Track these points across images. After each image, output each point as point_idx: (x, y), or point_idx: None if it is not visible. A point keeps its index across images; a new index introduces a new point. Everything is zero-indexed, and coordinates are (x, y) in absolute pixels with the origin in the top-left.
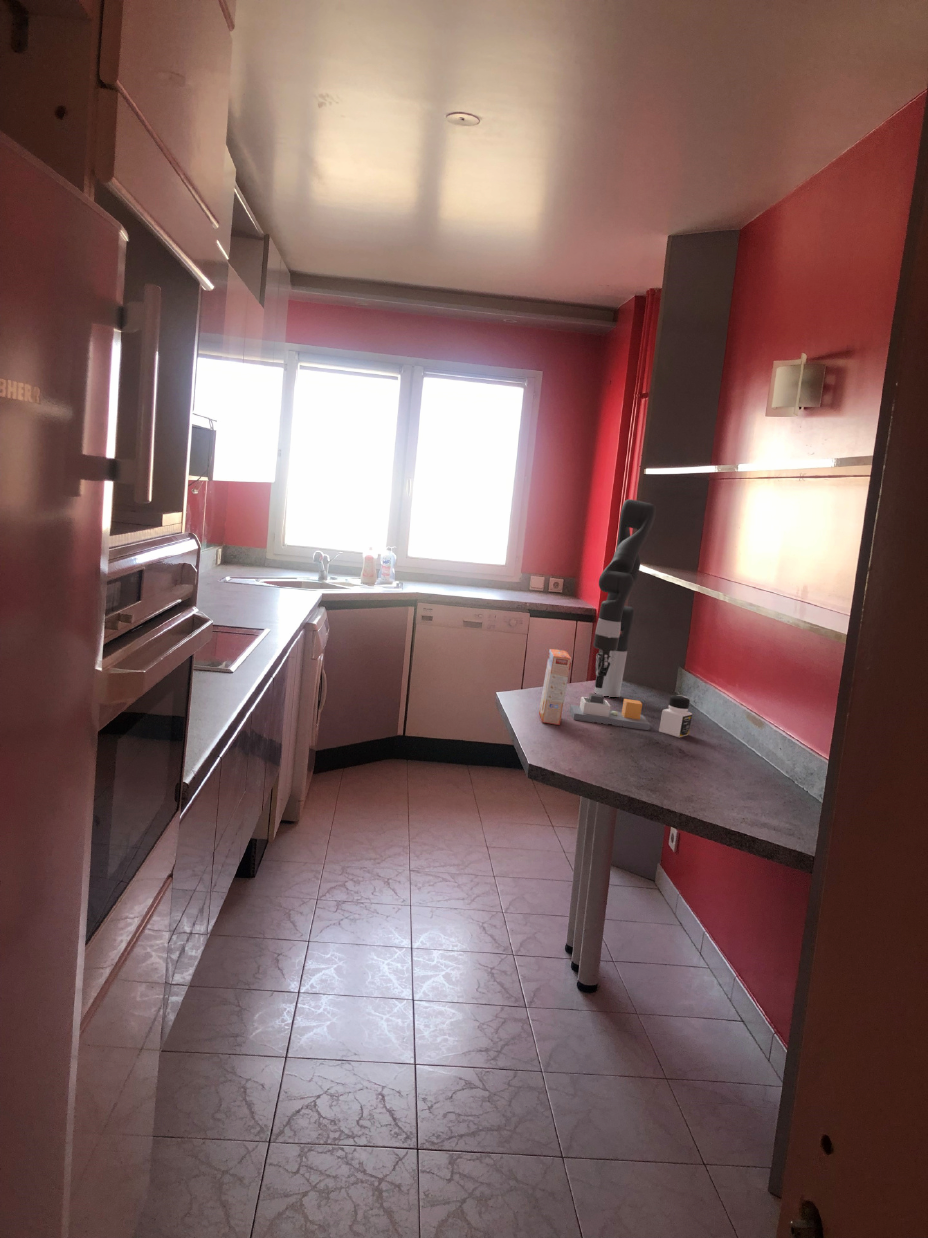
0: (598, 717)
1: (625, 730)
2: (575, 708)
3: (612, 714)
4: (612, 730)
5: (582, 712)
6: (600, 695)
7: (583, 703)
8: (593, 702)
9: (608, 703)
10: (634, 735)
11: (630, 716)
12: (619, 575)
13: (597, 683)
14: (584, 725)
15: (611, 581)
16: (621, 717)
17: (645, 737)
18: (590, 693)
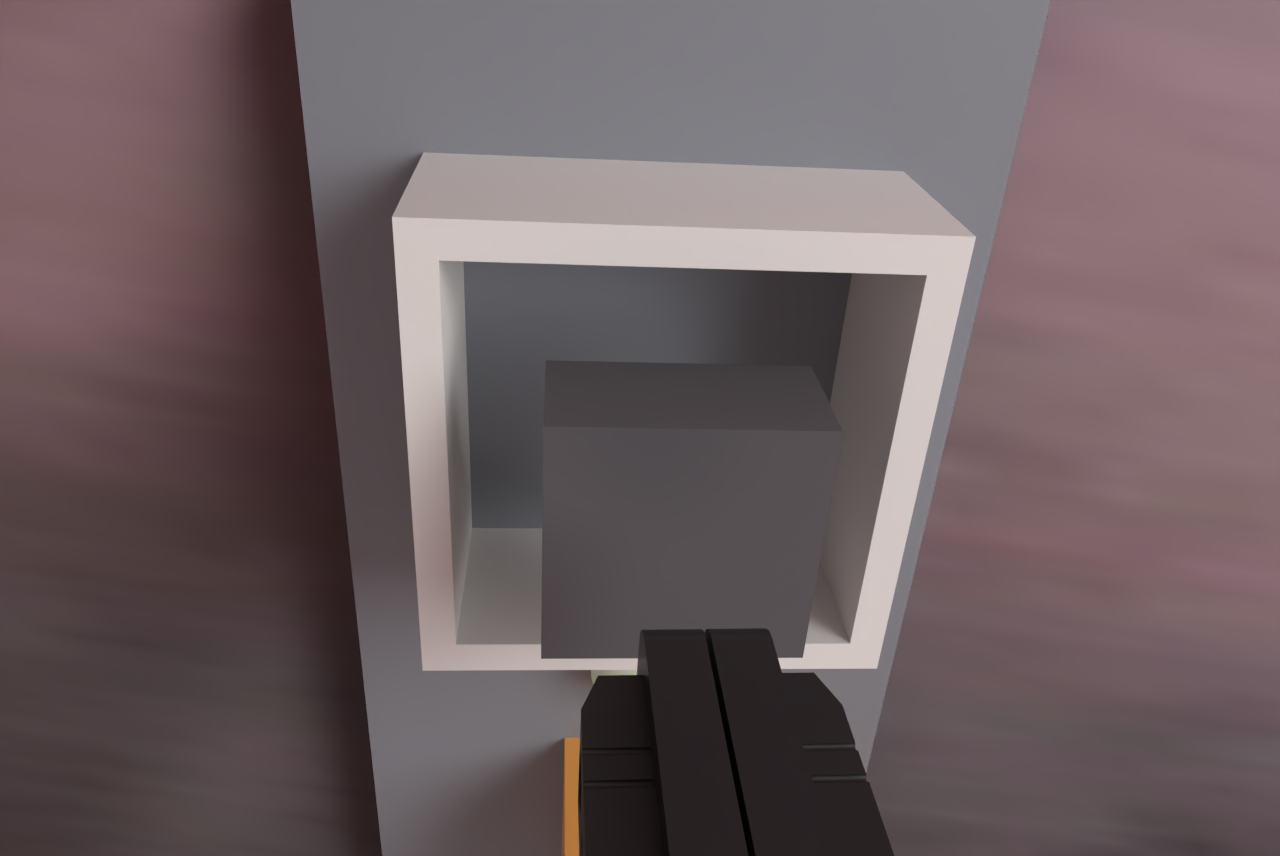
0: (334, 394)
1: (196, 652)
2: (755, 60)
3: None
4: (44, 496)
5: (480, 153)
6: (715, 621)
7: (540, 204)
8: (866, 441)
9: (629, 667)
10: (4, 711)
11: (563, 814)
12: None
13: (597, 737)
14: (6, 95)
15: None
16: (534, 708)
17: (15, 802)
18: (801, 442)
